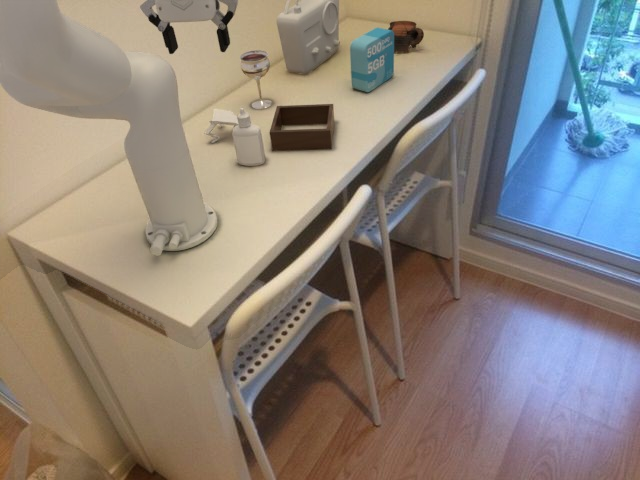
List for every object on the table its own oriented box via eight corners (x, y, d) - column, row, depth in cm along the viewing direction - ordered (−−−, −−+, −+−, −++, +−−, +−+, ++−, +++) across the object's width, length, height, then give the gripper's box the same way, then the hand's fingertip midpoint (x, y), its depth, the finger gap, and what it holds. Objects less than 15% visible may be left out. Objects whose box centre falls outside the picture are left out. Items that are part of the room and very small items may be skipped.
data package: (366, 94, 129) (364, 45, 121) (351, 90, 131) (349, 41, 123) (394, 76, 135) (394, 28, 127) (379, 72, 138) (379, 25, 130)
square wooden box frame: (331, 149, 111) (330, 130, 108) (272, 151, 112) (269, 132, 109) (334, 122, 120) (333, 103, 117) (279, 124, 121) (276, 105, 118)
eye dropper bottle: (255, 170, 107) (245, 116, 99) (235, 163, 110) (223, 110, 102) (269, 160, 110) (260, 107, 102) (248, 153, 112) (238, 101, 104)
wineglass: (278, 107, 127) (271, 58, 119) (250, 113, 126) (242, 64, 118) (272, 95, 132) (265, 47, 124) (245, 101, 131) (236, 53, 123)
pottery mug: (378, 52, 148) (380, 21, 147) (397, 57, 155) (399, 27, 154) (414, 49, 140) (416, 16, 139) (433, 54, 147) (436, 23, 146)
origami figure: (196, 140, 118) (191, 120, 115) (222, 123, 123) (218, 104, 120) (237, 153, 113) (232, 133, 109) (262, 135, 117) (258, 115, 114)
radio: (308, 80, 137) (297, -24, 121) (281, 75, 141) (268, -27, 125) (347, 48, 151) (343, -49, 135) (322, 45, 155) (314, -50, 138)
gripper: (115, -46, 84) (147, 60, 95) (221, -52, 82) (240, 57, 93) (133, -57, 90) (161, 44, 101) (232, -64, 87) (249, 40, 98)
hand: (199, 50), depth 97 cm, fingers open, 9 cm apart
